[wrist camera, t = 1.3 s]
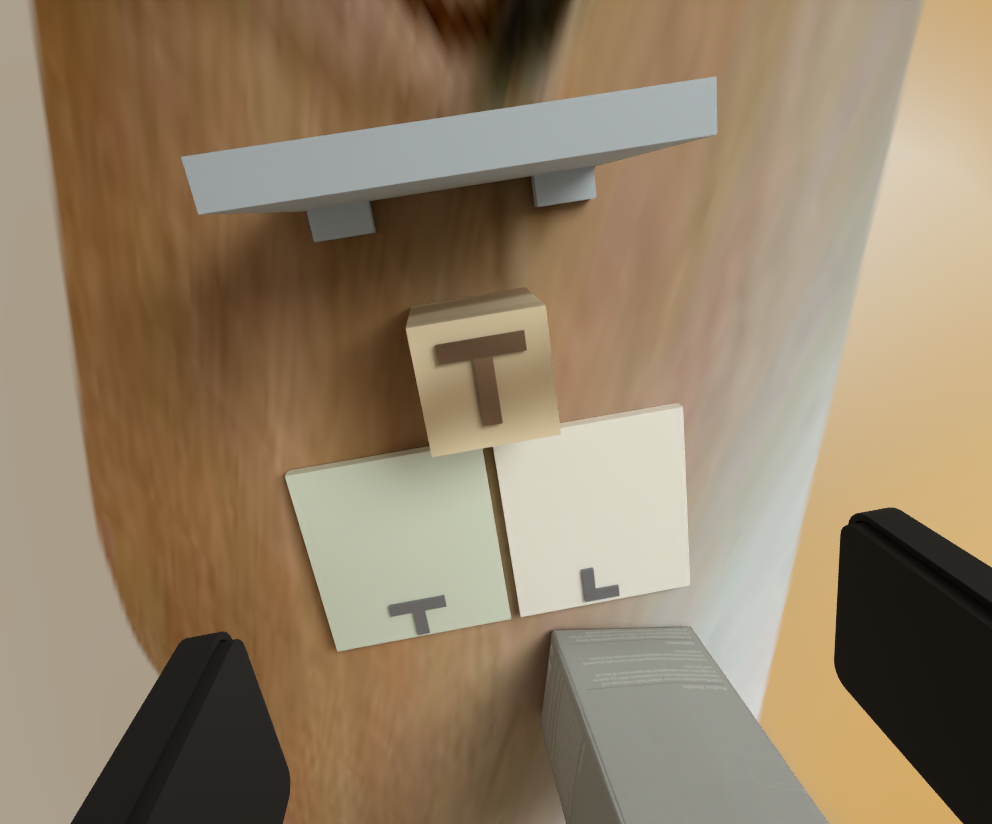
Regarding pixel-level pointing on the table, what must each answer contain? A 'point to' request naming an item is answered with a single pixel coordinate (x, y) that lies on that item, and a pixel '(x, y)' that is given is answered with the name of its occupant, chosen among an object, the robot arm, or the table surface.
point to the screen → (451, 156)
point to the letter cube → (484, 370)
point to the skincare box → (659, 735)
